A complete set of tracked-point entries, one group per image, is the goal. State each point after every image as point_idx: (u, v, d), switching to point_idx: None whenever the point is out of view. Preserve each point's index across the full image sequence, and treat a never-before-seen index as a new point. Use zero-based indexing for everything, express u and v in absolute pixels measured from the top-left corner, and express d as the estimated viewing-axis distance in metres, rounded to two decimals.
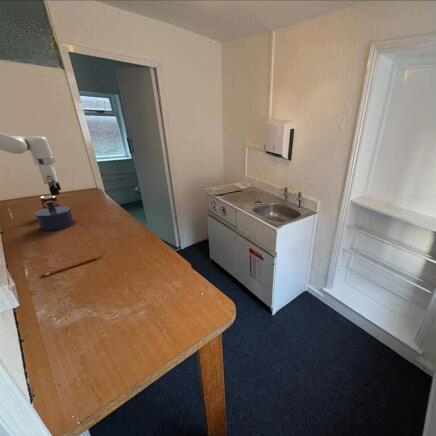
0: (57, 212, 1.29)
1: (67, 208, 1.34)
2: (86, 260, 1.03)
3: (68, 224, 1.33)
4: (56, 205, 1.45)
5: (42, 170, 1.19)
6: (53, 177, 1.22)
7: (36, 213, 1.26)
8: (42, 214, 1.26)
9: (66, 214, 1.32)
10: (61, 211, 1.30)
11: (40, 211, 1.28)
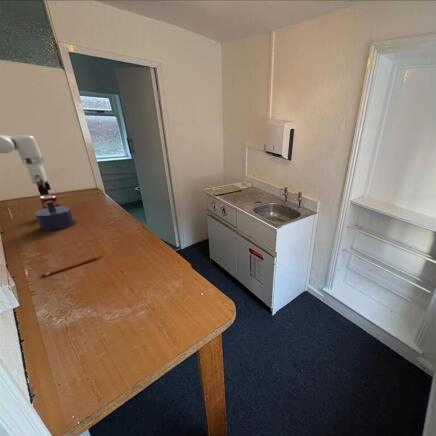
0: (57, 212, 1.29)
1: (67, 208, 1.34)
2: (86, 260, 1.03)
3: (68, 224, 1.33)
4: (56, 205, 1.45)
5: (30, 170, 1.17)
6: (42, 177, 1.20)
7: (36, 213, 1.26)
8: (42, 214, 1.26)
9: (66, 214, 1.32)
10: (61, 211, 1.30)
11: (40, 211, 1.28)
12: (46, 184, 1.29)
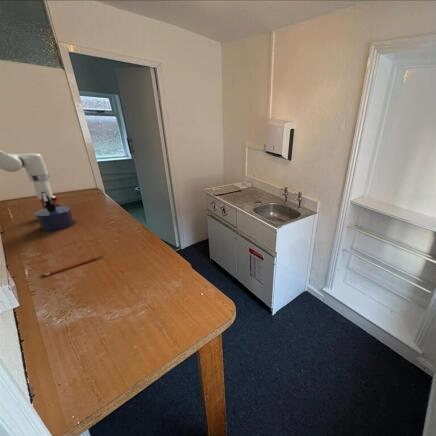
0: (57, 212, 1.29)
1: (67, 208, 1.34)
2: (86, 261, 1.03)
3: (68, 224, 1.33)
4: (56, 205, 1.45)
5: (36, 186, 1.20)
6: (47, 193, 1.23)
7: (36, 213, 1.26)
8: (42, 214, 1.26)
9: (66, 214, 1.32)
10: (61, 211, 1.30)
11: (40, 211, 1.28)
12: (52, 203, 1.30)
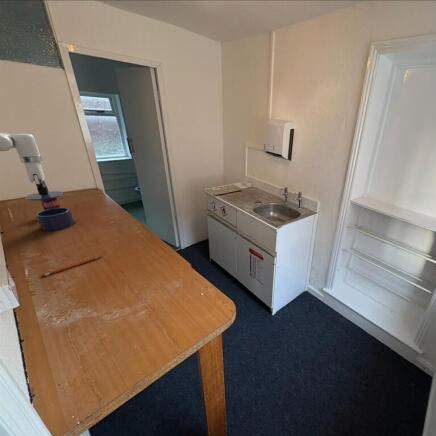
0: (49, 196, 1.24)
1: (60, 193, 1.30)
2: (86, 261, 1.03)
3: (68, 224, 1.33)
4: (56, 205, 1.45)
5: (28, 168, 1.16)
6: (39, 175, 1.19)
7: (27, 197, 1.22)
8: (33, 198, 1.21)
9: (66, 214, 1.32)
10: (54, 195, 1.26)
11: (31, 195, 1.24)
12: None
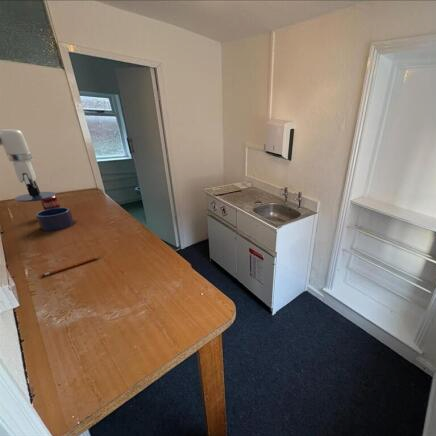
0: (41, 197, 1.16)
1: (53, 193, 1.21)
2: (86, 260, 1.03)
3: (68, 224, 1.33)
4: (56, 205, 1.45)
5: (17, 167, 1.07)
6: (30, 175, 1.10)
7: (17, 198, 1.13)
8: (24, 199, 1.12)
9: (66, 214, 1.32)
10: (46, 196, 1.17)
11: (21, 196, 1.15)
12: None
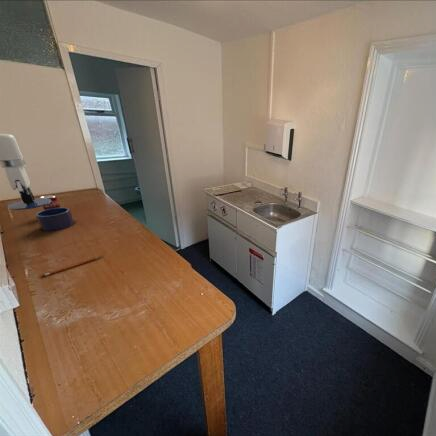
0: (35, 204, 1.10)
1: (48, 200, 1.16)
2: (86, 261, 1.03)
3: (68, 224, 1.33)
4: (56, 205, 1.45)
5: (9, 174, 1.01)
6: (23, 182, 1.05)
7: (10, 206, 1.08)
8: (17, 207, 1.07)
9: (66, 214, 1.32)
10: (40, 203, 1.11)
11: (15, 204, 1.10)
12: None
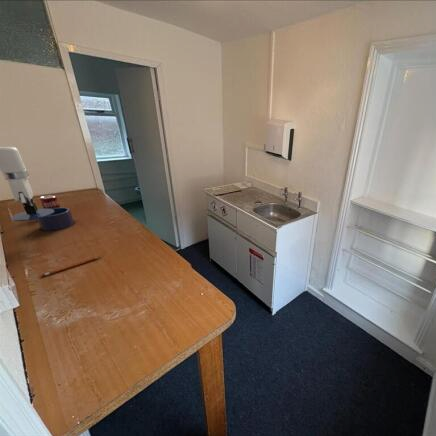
0: (38, 215, 1.11)
1: (51, 211, 1.17)
2: (86, 260, 1.03)
3: (68, 224, 1.33)
4: (56, 205, 1.45)
5: (12, 186, 1.02)
6: (26, 193, 1.05)
7: (13, 217, 1.08)
8: (20, 218, 1.08)
9: (66, 214, 1.32)
10: (43, 214, 1.12)
11: (18, 215, 1.10)
12: None
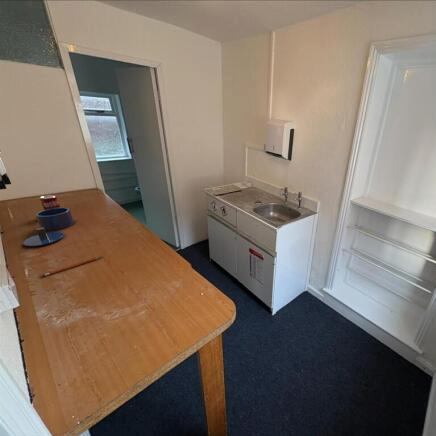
0: (49, 240, 1.16)
1: (60, 234, 1.22)
2: (86, 261, 1.03)
3: (68, 224, 1.33)
4: (56, 205, 1.45)
5: None
6: None
7: (25, 242, 1.14)
8: (32, 243, 1.13)
9: (66, 214, 1.32)
10: (53, 239, 1.18)
11: (29, 240, 1.16)
12: (5, 178, 1.15)
